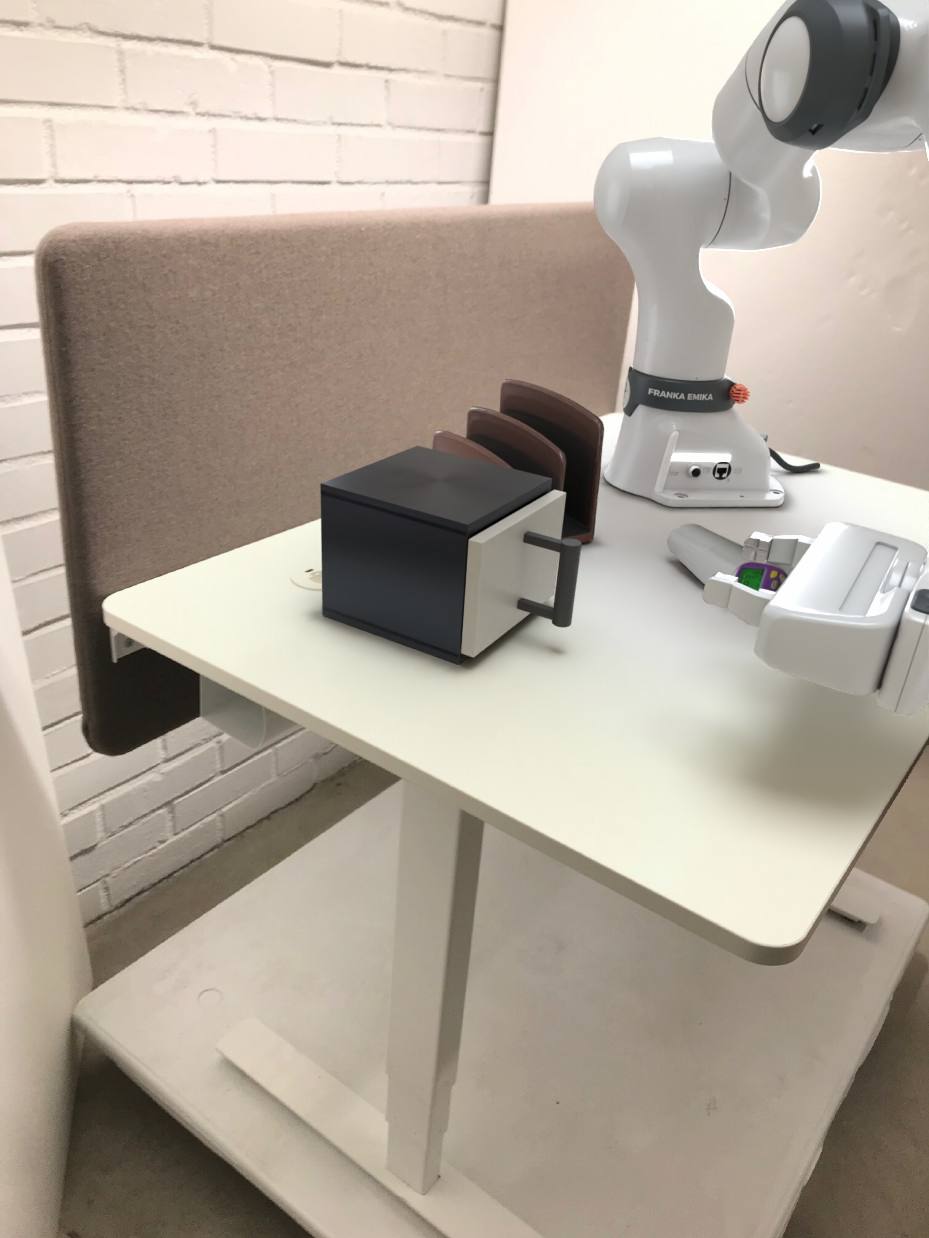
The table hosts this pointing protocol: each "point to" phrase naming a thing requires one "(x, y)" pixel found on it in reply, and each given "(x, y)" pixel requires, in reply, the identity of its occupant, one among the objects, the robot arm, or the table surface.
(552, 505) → the open pull-out drawer
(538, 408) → the letter holder
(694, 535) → the infrared thermometer
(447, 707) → the table surface
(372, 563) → the cabinet
